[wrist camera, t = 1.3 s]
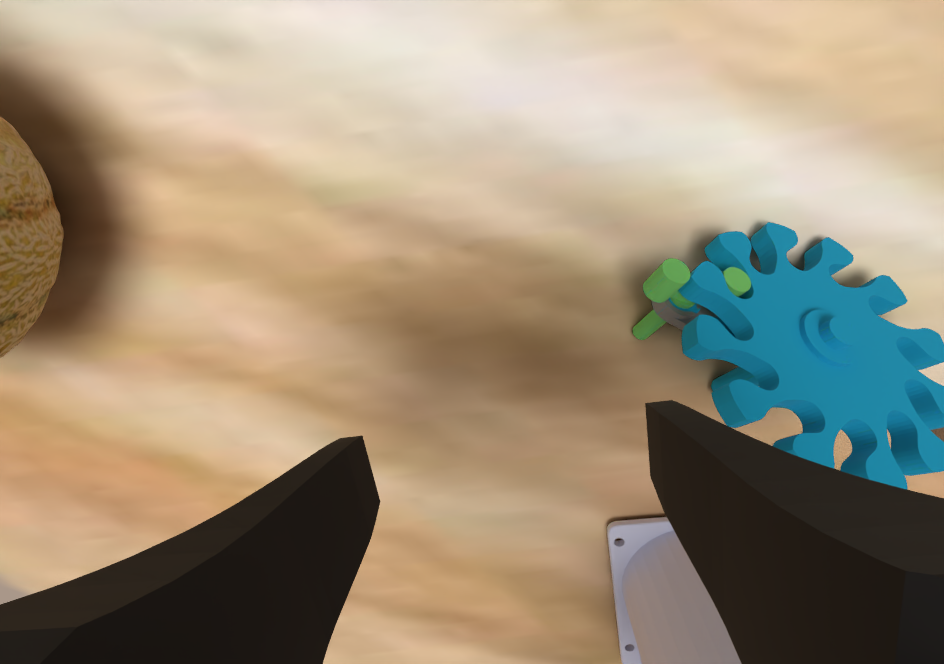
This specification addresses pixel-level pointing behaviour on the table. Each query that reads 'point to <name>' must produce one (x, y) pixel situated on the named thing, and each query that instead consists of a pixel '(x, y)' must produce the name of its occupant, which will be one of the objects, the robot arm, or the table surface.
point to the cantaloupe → (24, 238)
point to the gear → (808, 351)
